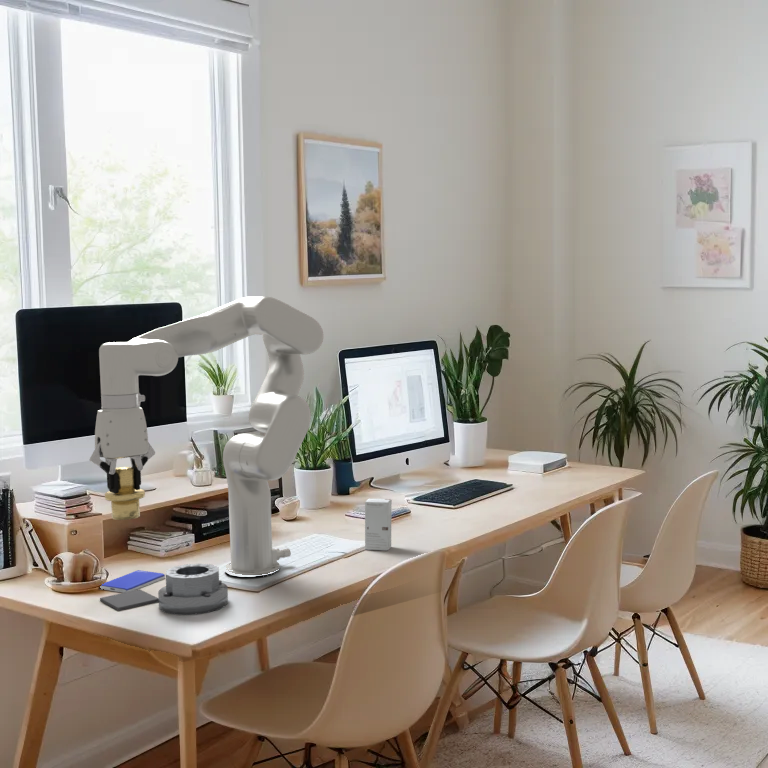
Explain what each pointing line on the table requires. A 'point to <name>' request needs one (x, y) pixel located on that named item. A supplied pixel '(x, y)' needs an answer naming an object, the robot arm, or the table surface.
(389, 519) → the skincare box
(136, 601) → the mat
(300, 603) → the table surface
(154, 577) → the hard drive
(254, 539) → the robot arm
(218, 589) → the housing
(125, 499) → the brass flanged shaft
